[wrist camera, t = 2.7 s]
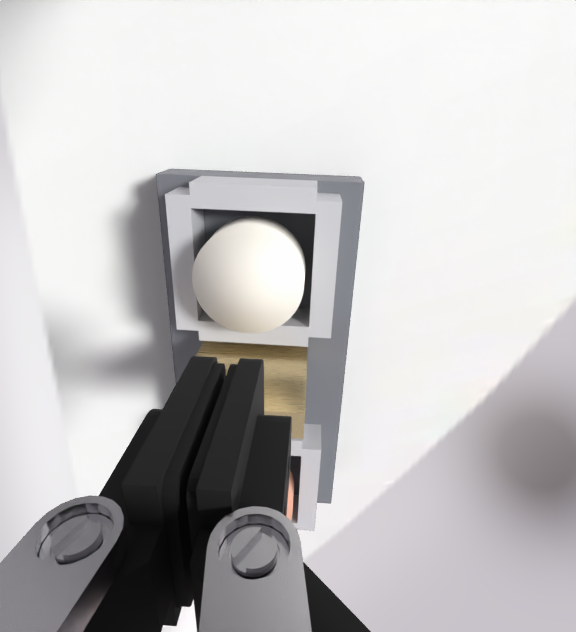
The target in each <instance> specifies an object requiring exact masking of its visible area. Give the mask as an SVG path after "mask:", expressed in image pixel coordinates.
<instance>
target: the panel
mask: <svg viewBox="0 0 576 632" xmlns="http://www.w3.org/2000/svg"><path fill="white" fill-rule="evenodd" d="M156 179H157V190H158V200H159V211H160V221H161V232H162V242H163V253H164V263H165V274H166V284H167V295H168V305H169V316H170V326H171V337H172V348H173V358H174V369H175V379H176V384H177V382H178V380H179V379H180V377H181V375H182V373H183V371H184V369H185V368H186V366H187V364H188V362H189V360H190V358H191V357H192V356H196V354H197V352H198V350H199V348H200V346H201V344H202V342H203V341H217V342H234V343H251V344H268V345H285V346H302V347H308V354H307V379H306V404H305V423H304V439H295V438H291V459H290V470H291V472H292V474H293V477H294V496H293V512H292V519H291V522H292V523H293V525H294V526H295V527H296V529H297V530H309V531H315V519H316V507H317V503H330V504H331V498H332V489H333V479H334V470H335V460H336V450H337V441H338V431H339V422H340V412H341V403H342V393H343V383H344V374H345V364H346V355H347V345H348V336H349V326H350V316H351V307H352V297H353V288H354V278H355V269H356V259H357V249H358V240H359V230H360V221H361V211H362V202H363V192H364V181H363V180H362V179H361V177H355V176H331V175H307V174H282V173H258V172H234V171H210V170H186V169H169V170H166V171H163V172H160V173H157V174H156ZM245 216H259V217H264V218H268V219H271V220H274V221H276V222H278V223H279V224H281V225H283V226H284V227H285V228H287V229H288V230H289V231H290V232H291V233H292V234H293V235H294V237H295V238H296V239H297V241H298V242H299V244H300V246H301V248H302V251H303V254H304V258H305V282H304V292H303V296H302V300H301V302H300V305H299V307H298V308H297V310H296V312H295V313H294V314H293V315H292V317H291V318H290V319H289V320H287V321H286V322H285V323H284V324H282V325H281V326H279V327H277V328H275V329H273V330H270V331H267V332H263V333H241V332H236V331H233V330H230V329H227V328H225V327H223V326H221V325H220V324H218V323H217V322H215V321H214V320H213V319H212V318H210V317H209V316H208V314H207V313H206V312H205V311H204V310H203V308H202V307H201V306H200V304H199V302H198V300H197V298H196V296H195V293H194V289H193V283H192V271H193V265H194V262H195V259H196V257H197V255H198V253H199V251H200V250H201V248H202V247H203V246H204V245H205V244H206V242H207V241H208V240H209V239H210V238H211V237H212V236H213V234H214V233H215V232H216V231H217V230H218V229H219V228H220V227H221V226H223V225H224V224H226V223H227V222H229V221H231V220H234V219H237V218H240V217H245Z"/></svg>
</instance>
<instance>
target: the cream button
mask: <svg viewBox="0 0 576 632" xmlns="http://www.w3.org/2000/svg"><path fill="white" fill-rule="evenodd" d="M304 282H305V258H304V254H303V251H302V248H301V246H300V244H299V242H298V241H297V239H296V238H295V237H294V235H293V234H292V233H291V232H290V231H289V230H288V229H287V228H285V227H284V226H283V225H281V224H279V223H278V222H276V221H274V220H271V219H268V218H264V217H259V216H245V217H240V218H237V219H234V220H231V221H229V222H227V223H226V224H224V225H223V226H221V227H220V228H219V229H218V230H217V231H216V232H215V233H214V234H213V236H212V237H211V238H210V239H209V240H208V241H207V242H206V244H205V245H204V246H203V247H202V248H201V250H200V251H199V253H198V255H197V257H196V259H195V262H194V265H193V271H192V283H193V289H194V293H195V296H196V298H197V300H198V302H199V304H200V306H201V307H202V308H203V310H204V311H205V312H206V313H207V314H208V316H209V317H210V318H212V319H213V320H214V321H215V322H217V323H218V324H220V325H221V326H223V327H225V328H227V329H230V330H233V331H236V332H241V333H263V332H267V331H270V330H273V329H275V328H277V327H279V326H281V325H282V324H284V323H285V322H286V321H287V320H289V319H290V318H291V317H292V315H293V314H294V313H295V312H296V310H297V308H298V307H299V305H300V302H301V300H302V296H303V292H304Z"/></svg>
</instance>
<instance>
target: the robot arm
mask: <svg viewBox="0 0 576 632" xmlns="http://www.w3.org/2000/svg"><path fill="white" fill-rule="evenodd" d="M291 431H292V417H291V416H275V415H264V361H263V359H246V358H240V359H239V362H238V364H230V366H229V369H228V372H227V375H226V369H225V364H224V363H218V361H217V358H216V357H204V356H192V357H191V358H190V360H189V362H188V364H187V366H186V368H185V369H184V371H183V373H182V375H181V377H180V379H179V380H178V382H177V384H176V386H175V388H174V390H173V391H172V393H171V395H170V397H169V399H168V401H167V402H166V404H165V406H164V408H163V409H152V410H150V411H149V413H148V414H147V415H146V417H145V419H144V420H143V422H142V424H141V425H140V427H139V429H138V430H137V432H136V434H135V435H134V437H133V439H132V441H131V442H130V444H129V446H128V447H127V449H126V451H125V452H124V454H123V456H122V457H121V459H120V461H119V463H118V464H117V466H116V468H115V469H114V471H113V473H112V474H111V476H110V478H109V479H108V481H107V483H106V484H105V486H104V488H103V490H102V491H101V493H100V495H99V496H86V497H80V498H75V499H73V500H70V501H68V502H65V503H63V504H60V505H59V506H57V507H56V508H54V509H52V510H51V511H49V512H48V513H46V515H44V516H43V517H42V518H41V519H40V520H39V521H38V522H36V523H35V525H34V526H33V527H32V528H31V529H30V530H29V531H28V532H27V534H26V535H25V536H24V537H23V538H22V539H21V541H19V543H18V544H17V545H16V546H15V547H14V548H13V549H12V550H11V552H10V553H9V554H8V555H7V556H6V557H5V558H4V559H3V561H2V562H1V563H0V632H161V631H162V628H163V625H165V626H177V623H178V619H179V616H180V612H181V609H182V607H190V606H191V605H192V602H193V600H194V609H195V617H196V626H197V632H370V631H369V630H368V628H367V627H366V626H365V625H364V624H363V623H362V622H361V621H360V620H359V619H358V618H357V617H356V616H355V615H354V614H353V613H352V612H351V611H350V610H349V609H348V608H347V607H346V606H345V605H344V604H343V603H342V601H341V600H340V599H339V598H338V597H337V596H335V594H334V593H333V592H332V591H331V590H330V589H329V588H328V587H327V586H326V585H325V584H324V583H323V582H322V581H321V580H320V579H319V578H318V577H317V576H316V575H315V574H314V573H313V571H311V569H309V567H307V565H306V564H305V563H304V562H303V558H302V550H301V543H300V538H299V535H298V532H297V529H296V527H295V526H294V525H293V523H292V522H291V521H290V519H289V518H287V517H286V515H287V502H288V490H289V476H290V459H291Z"/></svg>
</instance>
